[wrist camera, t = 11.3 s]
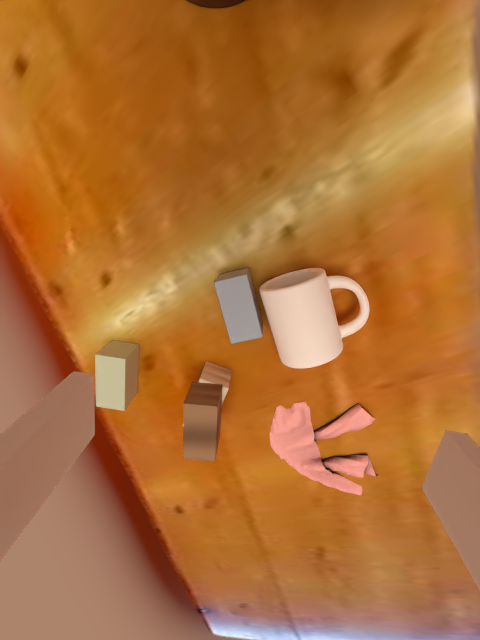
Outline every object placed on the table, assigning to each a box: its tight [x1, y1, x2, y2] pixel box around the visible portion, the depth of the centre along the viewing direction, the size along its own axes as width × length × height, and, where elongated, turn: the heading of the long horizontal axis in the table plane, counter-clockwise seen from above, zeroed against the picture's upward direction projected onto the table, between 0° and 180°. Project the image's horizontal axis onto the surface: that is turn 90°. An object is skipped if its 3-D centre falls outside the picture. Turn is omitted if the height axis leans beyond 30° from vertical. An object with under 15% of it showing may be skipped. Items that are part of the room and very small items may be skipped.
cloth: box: [270, 402, 378, 495], centre depth 50 cm, size 20×22×2 cm
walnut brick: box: [183, 382, 223, 462], centre depth 41 cm, size 8×4×5 cm, turn 176°
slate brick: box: [214, 267, 263, 344], centre depth 41 cm, size 8×4×5 cm, turn 14°
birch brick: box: [199, 361, 232, 404], centre depth 46 cm, size 8×4×5 cm, turn 160°
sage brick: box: [95, 340, 139, 411], centre depth 46 cm, size 8×4×5 cm, turn 172°
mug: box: [259, 268, 370, 368], centre depth 39 cm, size 12×10×8 cm
